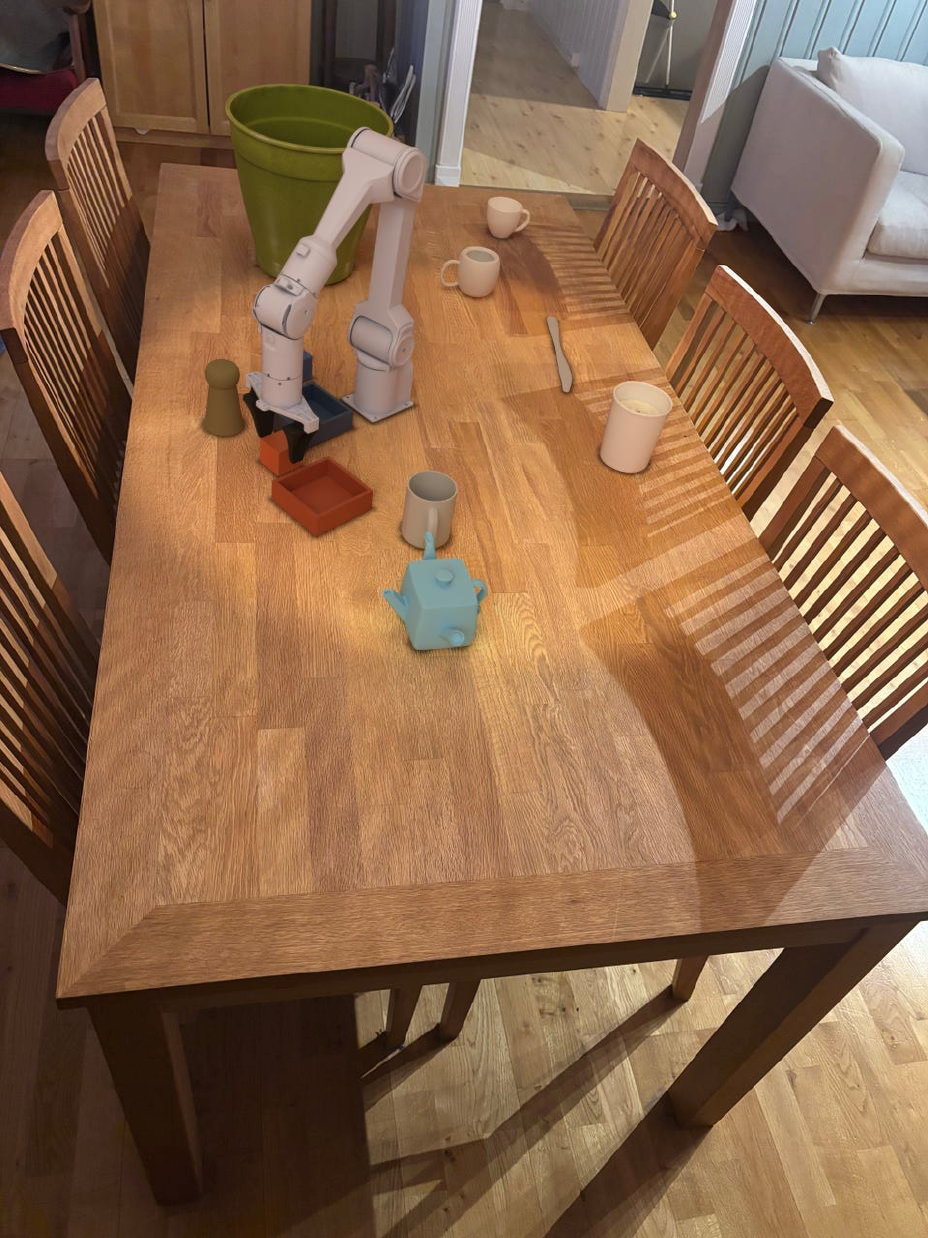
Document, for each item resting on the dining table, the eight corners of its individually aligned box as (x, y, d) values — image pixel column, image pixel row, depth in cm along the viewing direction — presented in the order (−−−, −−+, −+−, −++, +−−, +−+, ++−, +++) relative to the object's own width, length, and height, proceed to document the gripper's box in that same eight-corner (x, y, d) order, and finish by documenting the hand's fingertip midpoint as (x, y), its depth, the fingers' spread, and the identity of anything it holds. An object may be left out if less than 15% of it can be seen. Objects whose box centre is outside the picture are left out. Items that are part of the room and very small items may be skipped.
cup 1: (447, 519, 146) (456, 472, 139) (452, 565, 139) (461, 517, 133) (399, 516, 145) (406, 468, 138) (401, 562, 138) (408, 513, 131)
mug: (489, 281, 201) (495, 244, 196) (499, 302, 196) (506, 265, 190) (433, 279, 198) (438, 242, 192) (441, 300, 192) (447, 262, 187)
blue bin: (312, 398, 162) (313, 380, 160) (352, 428, 158) (353, 410, 156) (260, 419, 156) (260, 400, 154) (300, 451, 152) (301, 432, 150)
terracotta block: (283, 452, 151) (283, 428, 148) (301, 466, 149) (301, 443, 146) (260, 461, 149) (260, 438, 146) (278, 476, 147) (278, 453, 144)
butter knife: (561, 316, 194) (546, 313, 193) (575, 393, 175) (559, 390, 175) (560, 319, 194) (546, 316, 194) (574, 395, 176) (559, 393, 175)
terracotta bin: (327, 473, 149) (328, 455, 147) (371, 508, 145) (373, 490, 142) (271, 499, 143) (271, 480, 140) (316, 536, 139) (317, 518, 136)
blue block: (295, 366, 168) (296, 344, 165) (312, 378, 167) (313, 356, 163) (275, 374, 166) (275, 351, 163) (291, 386, 164) (292, 363, 161)
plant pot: (211, 235, 197) (206, 82, 177) (349, 228, 209) (359, 84, 188) (254, 309, 180) (253, 149, 159) (402, 296, 191) (418, 146, 171)
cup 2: (480, 224, 220) (485, 195, 215) (522, 228, 222) (528, 198, 217) (486, 240, 214) (491, 210, 210) (529, 243, 217) (535, 214, 212)
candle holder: (658, 454, 166) (680, 394, 158) (642, 483, 159) (663, 422, 151) (605, 434, 168) (624, 373, 160) (587, 462, 161) (605, 400, 153)
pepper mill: (235, 439, 152) (234, 378, 144) (198, 430, 152) (194, 369, 144) (249, 419, 156) (248, 358, 148) (213, 410, 156) (210, 349, 148)
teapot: (496, 674, 126) (510, 620, 118) (390, 684, 122) (398, 629, 115) (462, 578, 137) (473, 523, 130) (364, 584, 133) (370, 529, 126)
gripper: (227, 353, 138) (229, 432, 147) (292, 402, 132) (290, 481, 141) (267, 340, 142) (267, 418, 152) (332, 387, 136) (327, 465, 146)
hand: (280, 447), depth 147 cm, fingers open, 7 cm apart
